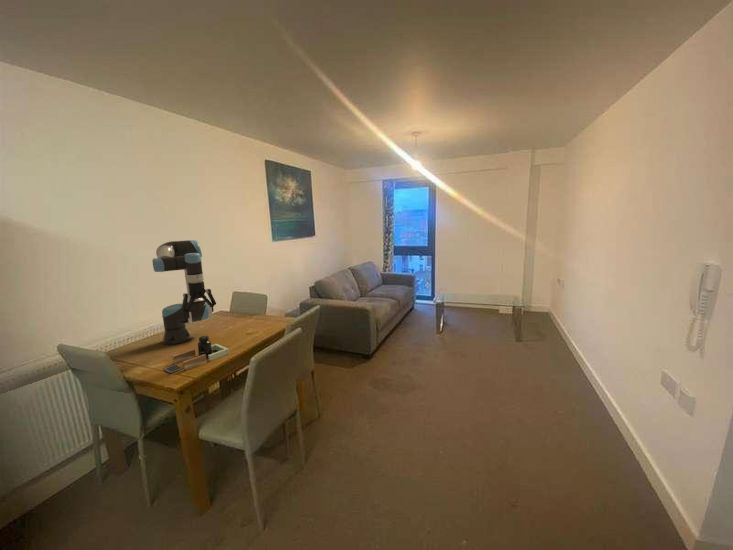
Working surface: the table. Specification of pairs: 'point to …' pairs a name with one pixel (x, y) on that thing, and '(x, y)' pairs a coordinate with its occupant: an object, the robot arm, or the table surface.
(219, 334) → the table surface
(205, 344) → the supplement bottle
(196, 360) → the channel
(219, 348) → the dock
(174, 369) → the mat
